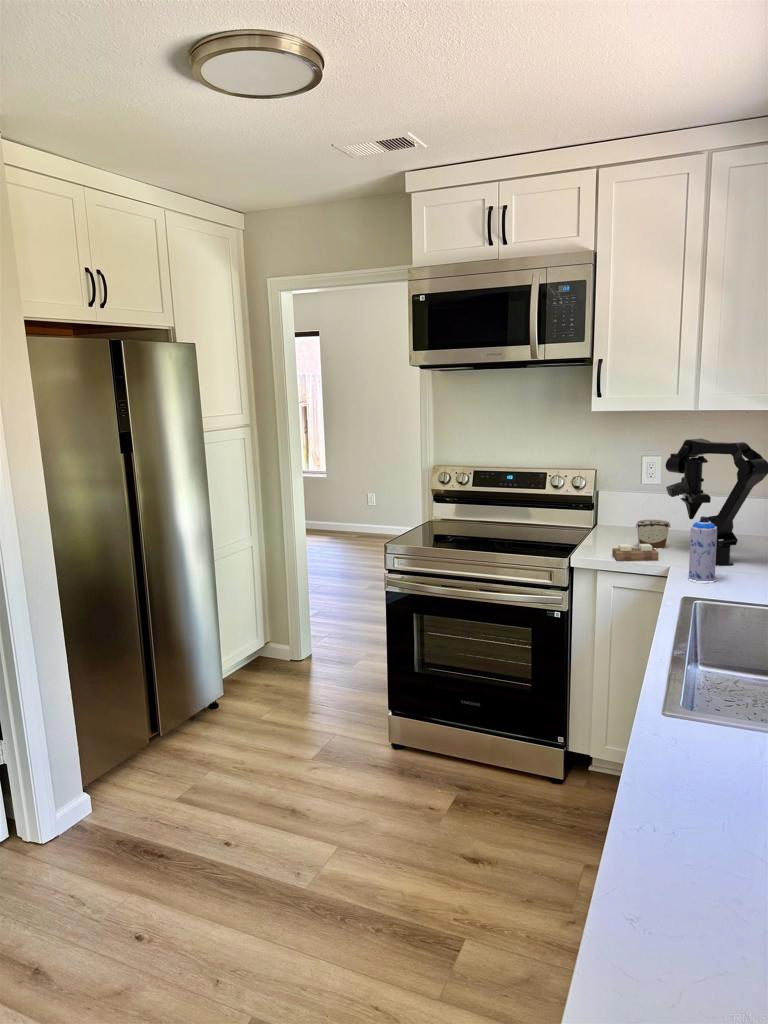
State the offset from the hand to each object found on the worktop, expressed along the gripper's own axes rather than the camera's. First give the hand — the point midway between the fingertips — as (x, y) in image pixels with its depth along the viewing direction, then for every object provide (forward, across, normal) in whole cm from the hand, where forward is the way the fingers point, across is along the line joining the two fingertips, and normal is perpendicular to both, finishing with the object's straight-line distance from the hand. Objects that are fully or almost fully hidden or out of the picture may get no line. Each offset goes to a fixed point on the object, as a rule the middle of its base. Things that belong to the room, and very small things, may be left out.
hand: (691, 519), depth 246 cm
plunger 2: (+13, +4, -16) cm, 21 cm away
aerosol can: (+13, +32, -7) cm, 35 cm away
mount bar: (+13, +4, -20) cm, 24 cm away
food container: (+13, -13, -10) cm, 21 cm away
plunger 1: (+13, +4, -23) cm, 27 cm away
